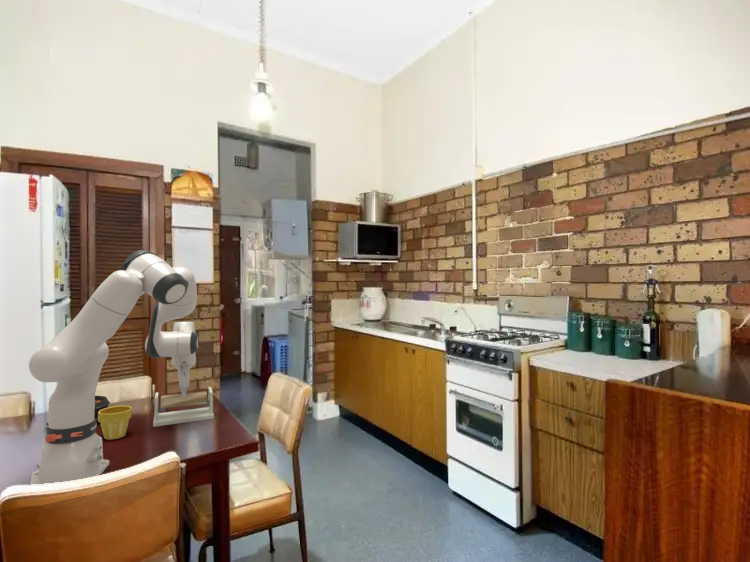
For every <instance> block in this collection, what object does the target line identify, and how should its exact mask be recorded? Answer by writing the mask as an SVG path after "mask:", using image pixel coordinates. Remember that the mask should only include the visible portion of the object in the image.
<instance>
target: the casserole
mask: <svg viewBox="0 0 750 562" xmlns="http://www.w3.org/2000/svg"><path fill="white" fill-rule="evenodd" d="M110 404H111V401H110V400H109V399H108V397H107V396H105V395H95V415H94V418H95V419H96V423H97V422H98V412H99V411H100V410H102V409H105V408H108V407H109V405H110ZM46 426H48V422H46Z"/></svg>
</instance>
